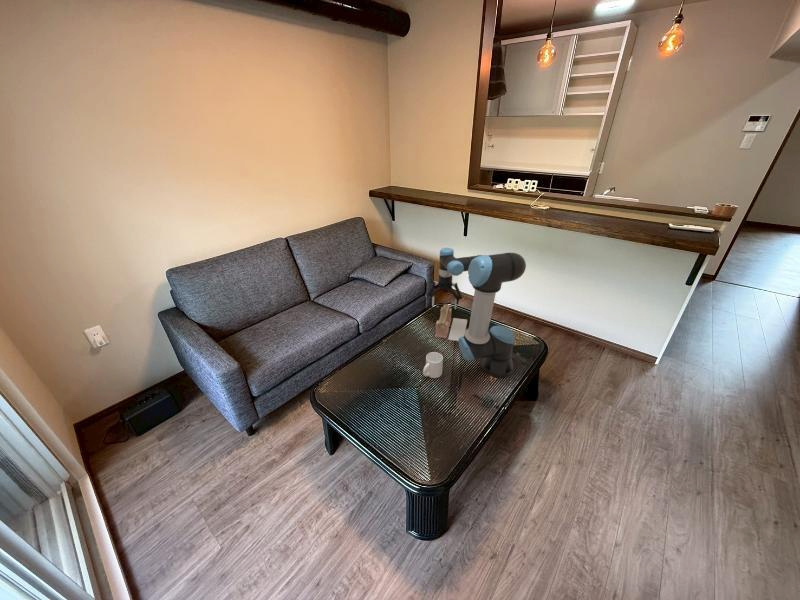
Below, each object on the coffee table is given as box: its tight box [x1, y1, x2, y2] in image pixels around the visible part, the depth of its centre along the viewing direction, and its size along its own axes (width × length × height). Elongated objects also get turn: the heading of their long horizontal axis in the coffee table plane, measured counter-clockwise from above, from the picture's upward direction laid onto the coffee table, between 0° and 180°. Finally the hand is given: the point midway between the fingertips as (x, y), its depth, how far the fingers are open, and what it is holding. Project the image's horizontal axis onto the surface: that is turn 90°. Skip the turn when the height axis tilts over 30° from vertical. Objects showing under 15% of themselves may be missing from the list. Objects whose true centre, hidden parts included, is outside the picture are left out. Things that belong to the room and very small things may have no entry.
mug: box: [422, 351, 444, 379], centre depth 151 cm, size 12×8×10 cm
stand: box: [434, 306, 453, 339], centre depth 188 cm, size 7×21×9 cm, turn 164°
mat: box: [447, 317, 468, 342], centre depth 187 cm, size 9×24×1 cm, turn 164°
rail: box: [438, 304, 451, 329], centre depth 186 cm, size 4×22×4 cm, turn 164°
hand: (444, 306), depth 183 cm, fingers open, 13 cm apart
